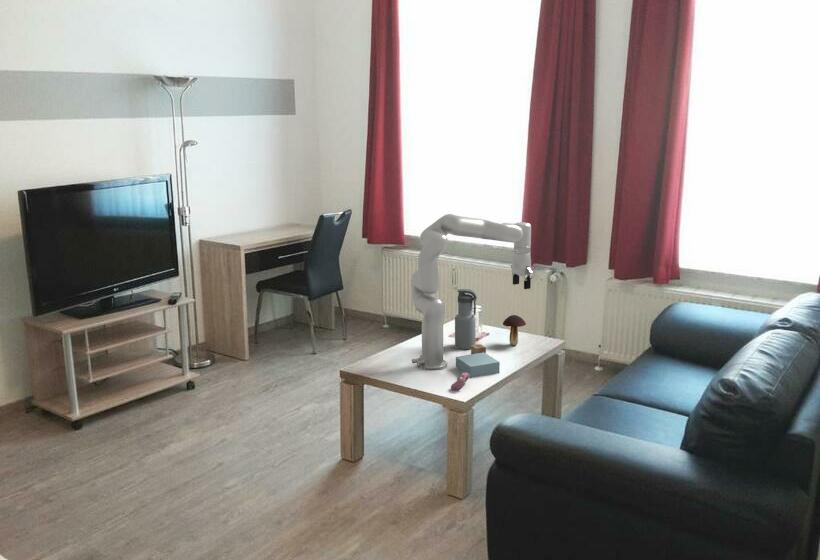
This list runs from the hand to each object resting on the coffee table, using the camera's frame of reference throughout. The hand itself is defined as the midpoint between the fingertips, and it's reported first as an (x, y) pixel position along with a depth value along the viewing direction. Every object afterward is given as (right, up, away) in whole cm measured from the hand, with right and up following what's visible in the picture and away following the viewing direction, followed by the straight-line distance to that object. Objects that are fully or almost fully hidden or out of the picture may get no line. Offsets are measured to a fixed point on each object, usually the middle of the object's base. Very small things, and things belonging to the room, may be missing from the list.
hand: (521, 286), depth 339 cm
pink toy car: (-30, -41, -35) cm, 62 cm away
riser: (-22, -36, -17) cm, 45 cm away
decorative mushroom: (-1, -29, +16) cm, 33 cm away
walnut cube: (-20, -32, +1) cm, 38 cm away
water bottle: (-25, -29, +15) cm, 41 cm away
